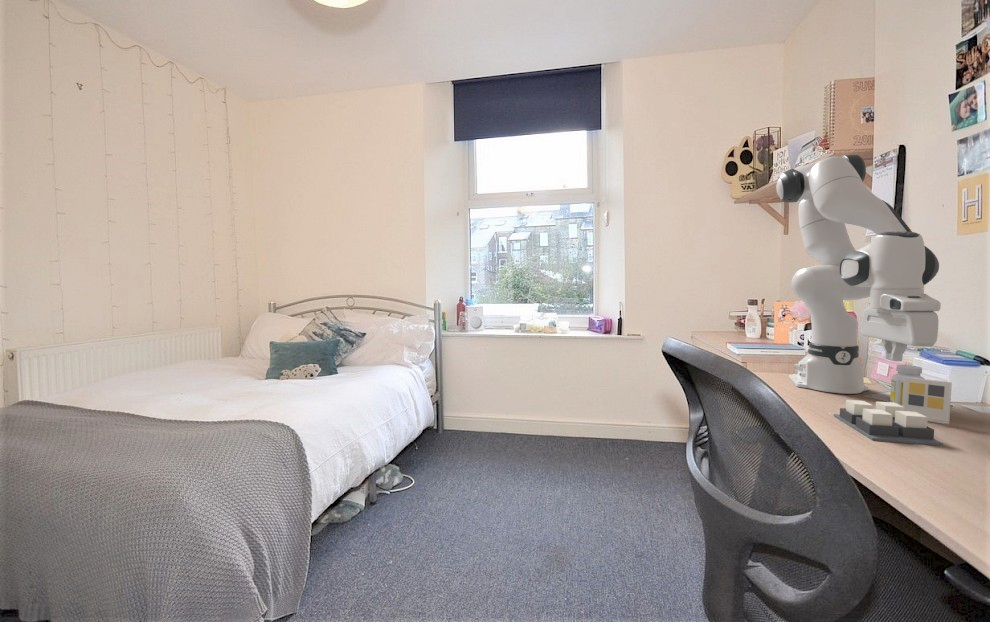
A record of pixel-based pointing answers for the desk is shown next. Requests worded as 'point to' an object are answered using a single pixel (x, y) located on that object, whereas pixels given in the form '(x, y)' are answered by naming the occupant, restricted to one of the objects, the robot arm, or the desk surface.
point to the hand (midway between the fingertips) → (893, 360)
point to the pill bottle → (898, 381)
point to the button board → (888, 430)
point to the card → (927, 398)
